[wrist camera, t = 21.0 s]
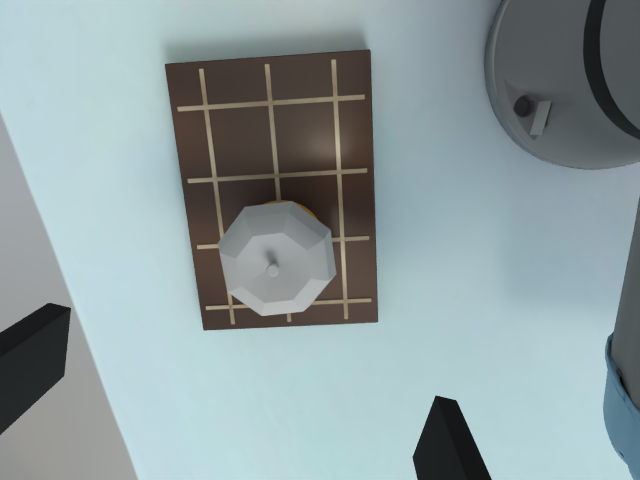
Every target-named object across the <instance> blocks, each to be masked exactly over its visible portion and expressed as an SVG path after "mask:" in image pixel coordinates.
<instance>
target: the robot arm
mask: <svg viewBox="0 0 640 480" xmlns="http://www.w3.org/2000/svg"><path fill="white" fill-rule="evenodd" d="M485 77H486V86H487V91H488V96H489V99H490V102H491V105H492V108H493V110H494V113H495V115H496V117H497V119H498V121H499V122H500V124H501V126H502V127H503V128H504V130H505V131H506V133H507V134H508V135H509V136H510V137H511V138H512V140H513V141H514V142H516V143H517V144H518V145H519V146H520V147H521V148H523V149H524V150H525V151H527V152H528V153H530V154H532V155H533V156H535V157H537V158H539V159H541V160H544V161H546V162H549V163H552V164H556V165H560V166H566V167H571V168H578V169H607V168H614V167H620V166H625V165H629V164H633V163H636V162H639V161H640V0H503V1H502V3H501V5H500V7H499V9H498V11H497V13H496V16H495V18H494V21H493V24H492V27H491V30H490V34H489V38H488V43H487V49H486V58H485ZM70 312H71V308H69V307H64V306H61V305H56V304H52V303H48V304H46V305H45V306H43V307H41V308H40V309H38V310H36V311H35V312H33V313H32V314H30V315H28V316H27V317H25V318H23V319H22V320H21V321H19V322H17V323H15V324H14V325H12V326H11V327H9V328H7V329H6V330H4V331H2V332H1V333H0V435H1V434H2V433H3V432H4V431H5V430H6V429H7V428H8V427H9V426H10V425H12V423H14V422H15V421H16V420H17V419H18V418H19V417H20V416H21V415H22V414H23V413H25V411H27V410H28V409H29V408H30V407H31V406H32V405H33V404H34V403H35V402H36V401H38V400H39V399H40V398H41V397H42V396H43V395H44V394H45V393H46V392H47V391H48V390H49V389H50V388H52V387H53V386H54V385H55V384H56V383H57V382H58V381H59V380H60V379H61V378H62V377H63V376H64V373H65V362H66V352H67V343H68V332H69V321H70ZM605 359H606V363H607V368H608V371H607V379H606V387H605V395H604V404H603V412H604V421H605V425H606V430H607V432H608V435H609V438H610V441H611V443H612V445H613V447H614V449H615V451H616V452H617V453H618V455H619V456H620V457H621V459H622V460H623V461H624V462H625V463H626V464H627V465H628V468H629V471H630V473H631V475H632V478H633V479H634V480H640V197H639V203H638V209H637V215H636V221H635V226H634V231H633V236H632V241H631V246H630V252H629V257H628V262H627V267H626V272H625V277H624V282H623V287H622V292H621V297H620V303H619V308H618V313H617V318H616V323H615V328H614V332H613V333H612V334H611V335H610V336H608V340H607V343H606V347H605ZM413 462H414V466H415V470H416V474H417V478H418V480H492V479H491V477H490V475H489V472H488V470H487V468H486V466H485V463H484V461H483V459H482V457H481V454H480V452H479V450H478V448H477V445H476V443H475V441H474V439H473V437H472V434H471V432H470V430H469V428H468V425H467V423H466V421H465V419H464V416H463V414H462V412H461V410H460V407H459V405H458V403H457V401H456V400H453V399H448V398H444V397H440V396H435V399H434V402H433V404H432V407H431V410H430V412H429V415H428V418H427V420H426V423H425V426H424V428H423V431H422V434H421V436H420V439H419V442H418V444H417V447H416V450H415V452H414V455H413Z"/></svg>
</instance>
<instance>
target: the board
mask: <svg viewBox="0 0 640 480" xmlns="http://www.w3.org/2000/svg"><path fill="white" fill-rule="evenodd" d="M165 69H166V76H167V83H168V90H169V97H170V104H171V111H172V117H173V124H174V131H175V138H176V145H177V152H178V159H179V165H180V172H181V179H182V186H183V193H184V200H185V207H186V213H187V220H188V227H189V234H190V241H191V248H192V254H193V261H194V268H195V275H196V282H197V289H198V296H199V302H200V309H201V316H202V323H203V330H223V329H245V328H267V327H289V326H311V325H332V324H354V323H376V322H378V301H377V265H376V230H375V194H374V158H373V122H372V86H371V51H370V50H355V51H341V52H327V53H312V54H298V55H284V56H269V57H255V58H241V59H227V60H212V61H198V62H184V63H169V64H165ZM290 201H293V202H294V203H295V204H297V205H298V206H299V207H301V208H302V209H303V210H305V211H306V212H307V213H309V214H310V215H311V216H313V217H314V218H315V219H317V220H318V221H319V222H321V223H322V224H323V225H325V226H326V227H327V228H329V229H330V230H331V237H332V245H333V252H334V260H335V268H336V275H335V276H334V277H333V279H332V280H331V281H330V282H329V283H328V285H327V286H326V287H325V288H324V289H323V290H322V292H321V293H320V294H319V295H318V296H317V298H316V299H315V300H314V301H313V302H312V303H311V305H310V306H309V307H308V308H307V309H306V310H304V311H303V312H295V313H286V314H276V315H267V316H261V315H260V314H258V313H257V312H255V311H254V310H252V309H251V308H250V307H248V306H247V305H245V304H244V303H242V302H241V301H240V300H238V299H237V298H235V297H234V296H232V295H231V294H230V293H228V292H227V287H226V282H225V277H224V272H223V267H222V262H221V257H220V252H219V246H218V242H219V241H220V240H221V238H222V237H223V236H224V234H225V233H226V231H227V230H228V229H229V227H230V226H231V225H232V223H233V222H234V221H235V219H236V218H237V217H238V215H239V214H240V213H241V211H242V210H243V209H244V207H248V206H256V205H265V204H273V203H281V202H290Z"/></svg>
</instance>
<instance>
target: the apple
mask: <svg viewBox="0 0 640 480" xmlns="http://www.w3.org/2000/svg"><path fill="white" fill-rule="evenodd" d="M218 246H219V252H220V257H221V262H222V267H223V272H224V277H225V282H226V287H227V292H228V293H230V294H231V295H232V296H234V297H235V298H237V299H238V300H240V301H241V302H242V303H244V304H245V305H247V306H248V307H250V308H251V309H252V310H254V311H255V312H257V313H258V314H260V315H261V316H267V315H276V314H286V313H295V312H303V311H304V310H306V309H307V308H308V307H309V306H310V305H311V303H312V302H313V301H314V300H315V299H316V298H317V296H318V295H319V294H320V293H321V292H322V290H323V289H324V288H325V287H326V286H327V285H328V283H329V282H330V281H331V280H332V279H333V277H334V276H335V275H336V268H335V260H334V252H333V245H332V237H331V230H330V229H329V228H327V227H326V226H325V225H323V224H322V223H321V222H319V221H318V220H317V219H315V218H314V217H313V216H311V215H310V214H309V213H307V212H306V211H305V210H303V209H302V208H301V207H299V206H298V205H297V204H295V203H294V202H293V201H290V202H281V203H273V204H265V205H256V206H248V207H244V209H243V210H242V211H241V213H240V214H239V215H238V217H237V218H236V219H235V221H234V222H233V223H232V225H231V226H230V227H229V229H228V230H227V231H226V233H225V234H224V236H223V237H222V238H221V240H220V241H219V242H218Z"/></svg>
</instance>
